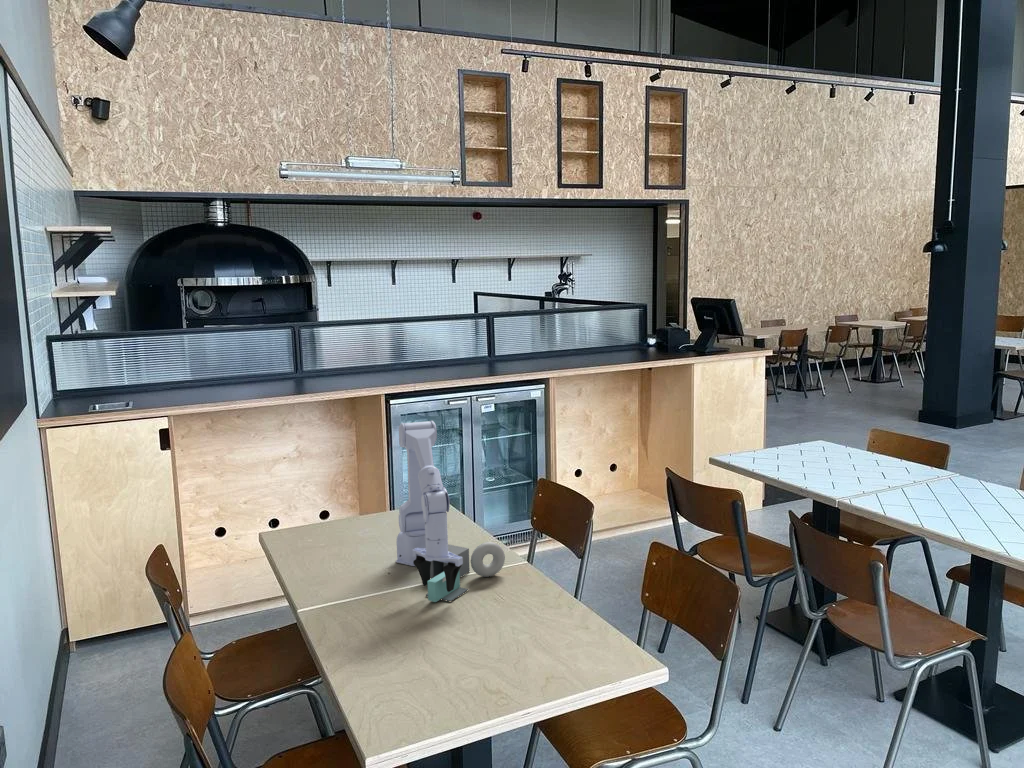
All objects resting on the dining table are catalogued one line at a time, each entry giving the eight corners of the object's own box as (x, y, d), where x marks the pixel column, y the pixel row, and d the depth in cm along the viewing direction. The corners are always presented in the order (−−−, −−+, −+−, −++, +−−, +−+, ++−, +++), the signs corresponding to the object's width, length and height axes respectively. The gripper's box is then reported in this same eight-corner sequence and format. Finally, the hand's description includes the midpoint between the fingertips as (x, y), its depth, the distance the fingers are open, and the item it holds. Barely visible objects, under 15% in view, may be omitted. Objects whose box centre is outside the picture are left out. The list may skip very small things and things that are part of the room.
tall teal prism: (428, 600, 196) (427, 581, 196) (452, 585, 206) (452, 566, 205) (435, 602, 195) (435, 582, 194) (460, 586, 204) (459, 568, 204)
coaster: (425, 596, 200) (425, 594, 200) (443, 585, 207) (443, 583, 207) (451, 602, 196) (450, 600, 196) (468, 591, 203) (468, 589, 203)
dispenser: (425, 579, 212) (424, 555, 211) (446, 567, 220) (445, 543, 219) (449, 584, 208) (448, 560, 207) (469, 572, 216) (468, 548, 215)
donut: (473, 581, 209) (472, 546, 208) (469, 577, 212) (468, 542, 211) (507, 575, 213) (506, 541, 212) (502, 571, 216) (502, 537, 215)
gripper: (404, 537, 196) (406, 587, 198) (450, 546, 189) (452, 598, 191) (421, 529, 202) (422, 578, 204) (466, 537, 195) (468, 588, 197)
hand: (438, 587), depth 198 cm, fingers open, 7 cm apart
